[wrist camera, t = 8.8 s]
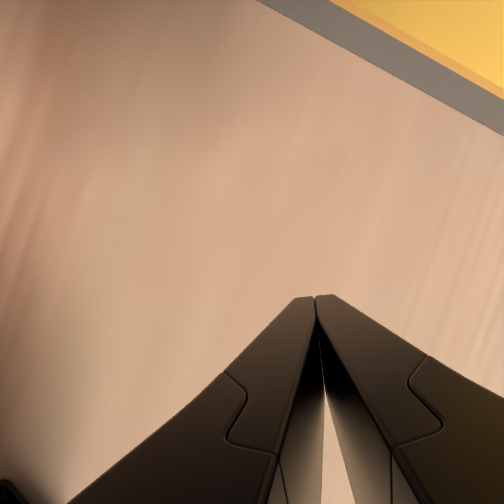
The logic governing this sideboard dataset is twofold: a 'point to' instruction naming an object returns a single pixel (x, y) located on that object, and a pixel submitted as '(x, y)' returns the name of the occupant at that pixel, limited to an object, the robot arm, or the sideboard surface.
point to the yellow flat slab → (445, 33)
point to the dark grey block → (395, 58)
